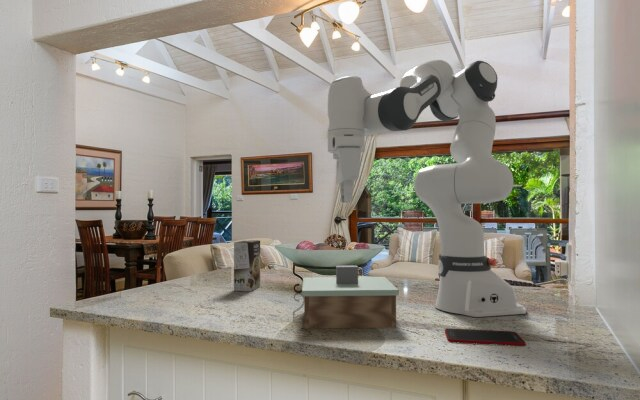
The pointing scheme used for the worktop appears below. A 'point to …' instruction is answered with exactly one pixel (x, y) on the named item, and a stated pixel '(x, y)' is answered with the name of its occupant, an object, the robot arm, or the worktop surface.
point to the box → (350, 311)
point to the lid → (348, 284)
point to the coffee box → (246, 265)
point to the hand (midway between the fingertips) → (346, 202)
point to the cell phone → (484, 337)
